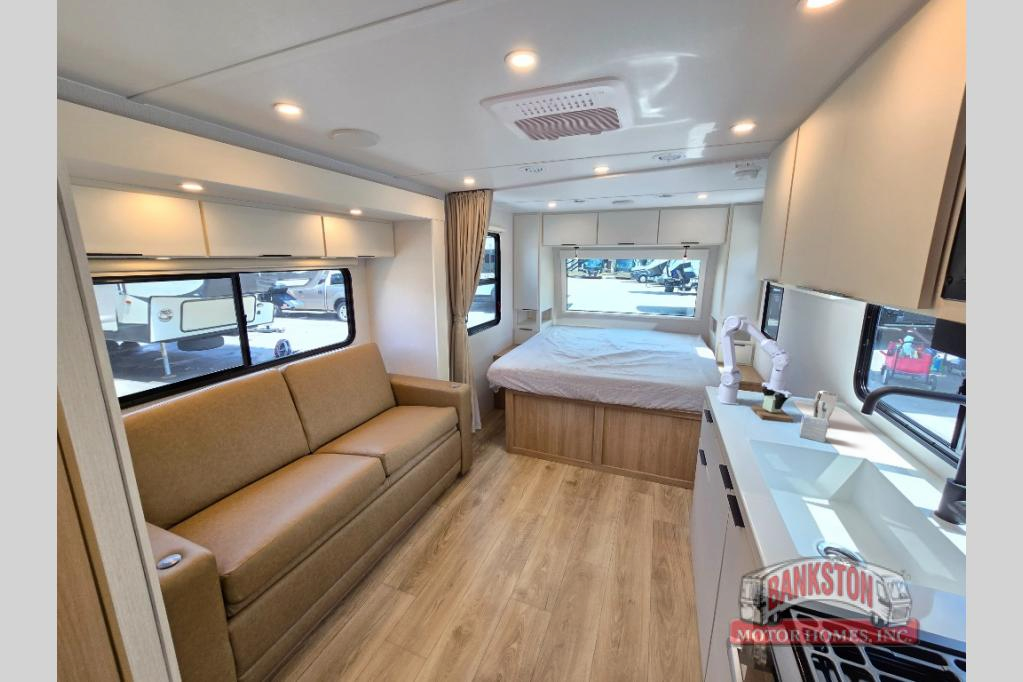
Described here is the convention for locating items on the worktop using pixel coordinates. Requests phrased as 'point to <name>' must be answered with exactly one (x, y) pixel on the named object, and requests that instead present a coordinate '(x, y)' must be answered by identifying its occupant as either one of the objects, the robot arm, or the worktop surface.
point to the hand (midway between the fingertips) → (772, 406)
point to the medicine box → (813, 428)
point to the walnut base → (771, 414)
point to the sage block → (770, 404)
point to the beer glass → (824, 404)
